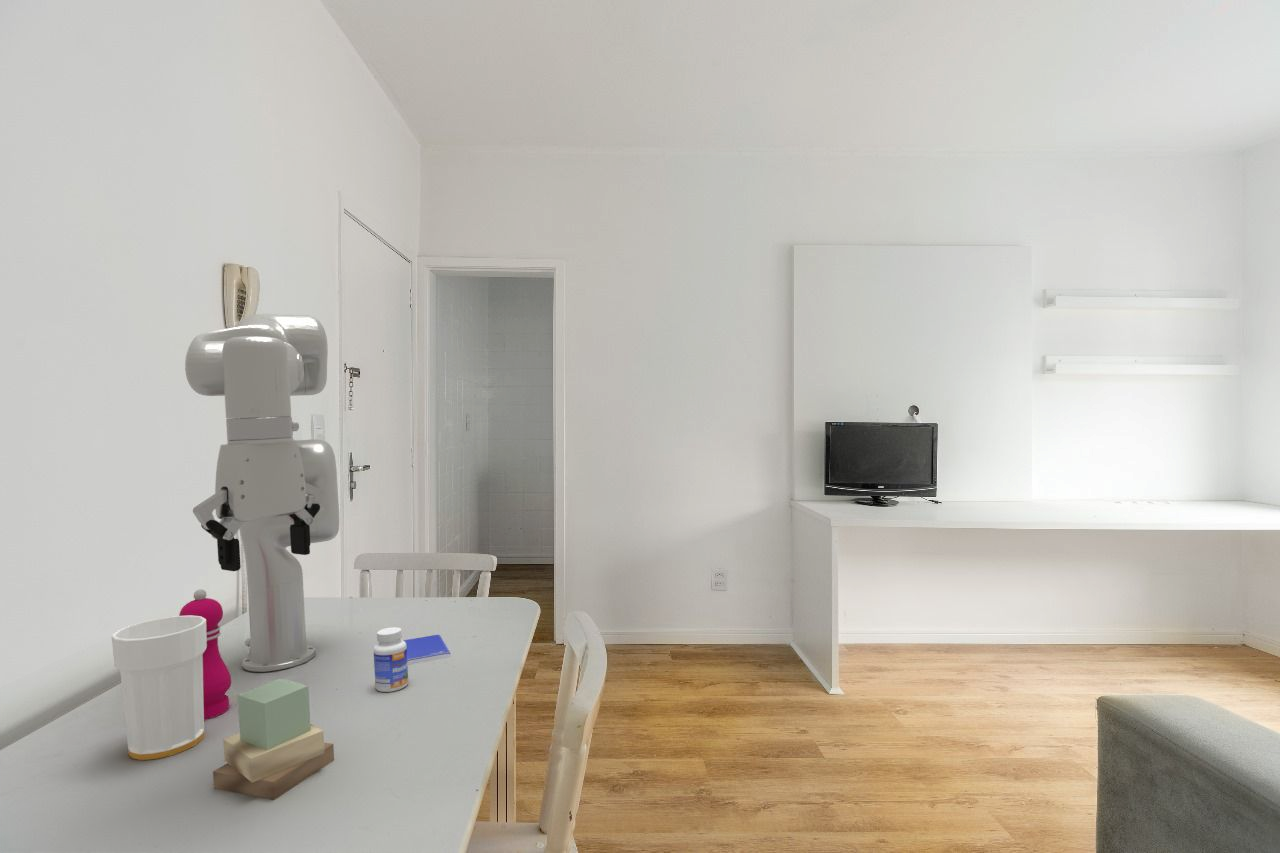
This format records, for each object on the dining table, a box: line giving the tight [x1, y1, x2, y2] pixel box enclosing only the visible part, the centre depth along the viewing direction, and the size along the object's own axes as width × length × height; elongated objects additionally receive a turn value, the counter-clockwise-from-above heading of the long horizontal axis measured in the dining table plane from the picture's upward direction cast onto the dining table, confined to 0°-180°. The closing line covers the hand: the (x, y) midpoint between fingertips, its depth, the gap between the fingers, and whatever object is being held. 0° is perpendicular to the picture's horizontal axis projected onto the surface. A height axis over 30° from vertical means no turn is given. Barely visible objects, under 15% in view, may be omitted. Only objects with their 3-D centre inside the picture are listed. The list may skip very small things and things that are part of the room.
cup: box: [111, 615, 207, 761], centre depth 102 cm, size 11×11×17 cm
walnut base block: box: [212, 742, 335, 801], centre depth 93 cm, size 10×10×3 cm
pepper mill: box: [178, 589, 232, 720], centre depth 113 cm, size 7×7×20 cm
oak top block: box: [222, 723, 325, 783], centre depth 93 cm, size 9×9×3 cm
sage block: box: [237, 678, 311, 750], centre depth 92 cm, size 6×6×6 cm
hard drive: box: [402, 634, 451, 666], centre depth 138 cm, size 2×8×12 cm
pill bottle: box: [373, 626, 409, 693], centre depth 121 cm, size 5×5×10 cm
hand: (267, 561), depth 92 cm, fingers open, 9 cm apart
